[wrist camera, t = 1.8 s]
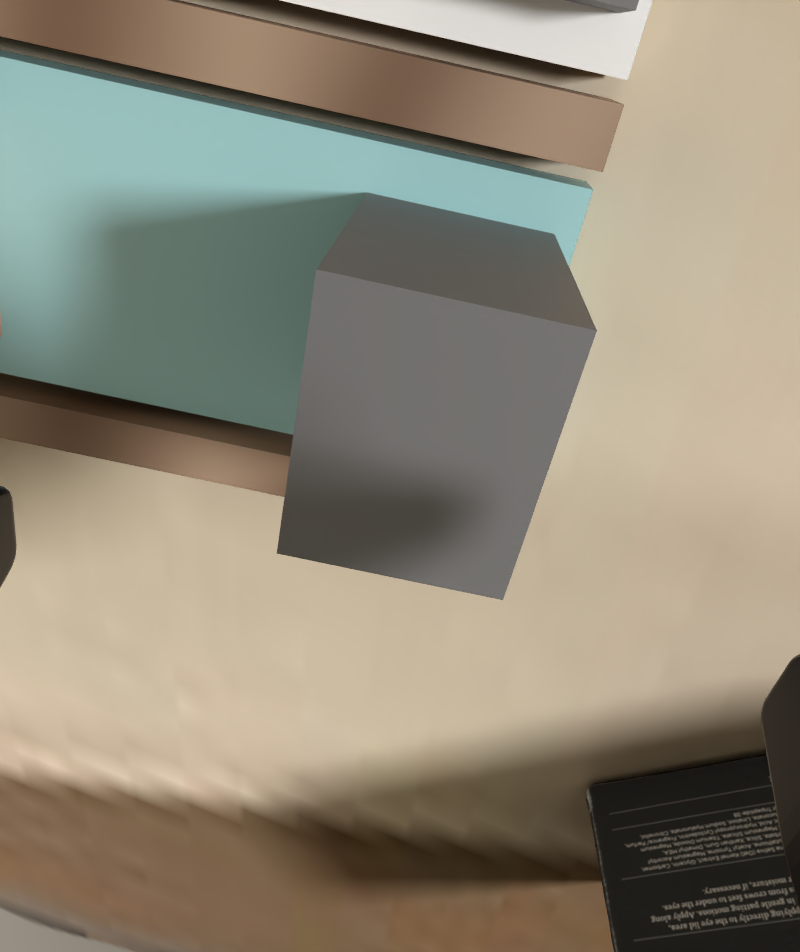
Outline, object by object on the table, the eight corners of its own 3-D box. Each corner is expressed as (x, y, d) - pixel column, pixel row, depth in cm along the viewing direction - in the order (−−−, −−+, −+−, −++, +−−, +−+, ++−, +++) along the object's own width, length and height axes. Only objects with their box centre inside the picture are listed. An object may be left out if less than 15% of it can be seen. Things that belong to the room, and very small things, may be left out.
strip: (586, 181, 16) (657, 269, 10) (500, 459, 20) (515, 647, 14) (-358, -31, 15) (-890, -76, 9) (-268, 296, 19) (-611, 416, 13)
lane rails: (820, -587, 11) (871, -678, 9) (485, 505, 21) (486, 538, 19) (-596, -954, 10) (-764, -1111, 9) (-246, 351, 20) (-299, 375, 19)
